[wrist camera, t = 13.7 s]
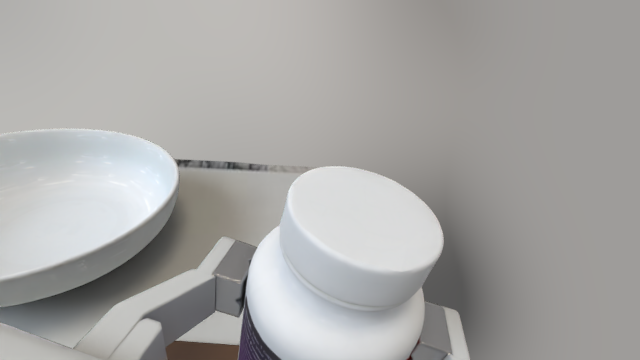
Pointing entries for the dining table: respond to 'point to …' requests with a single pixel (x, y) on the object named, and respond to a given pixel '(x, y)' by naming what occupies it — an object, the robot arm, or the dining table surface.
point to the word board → (201, 351)
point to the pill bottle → (341, 271)
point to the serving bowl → (77, 207)
